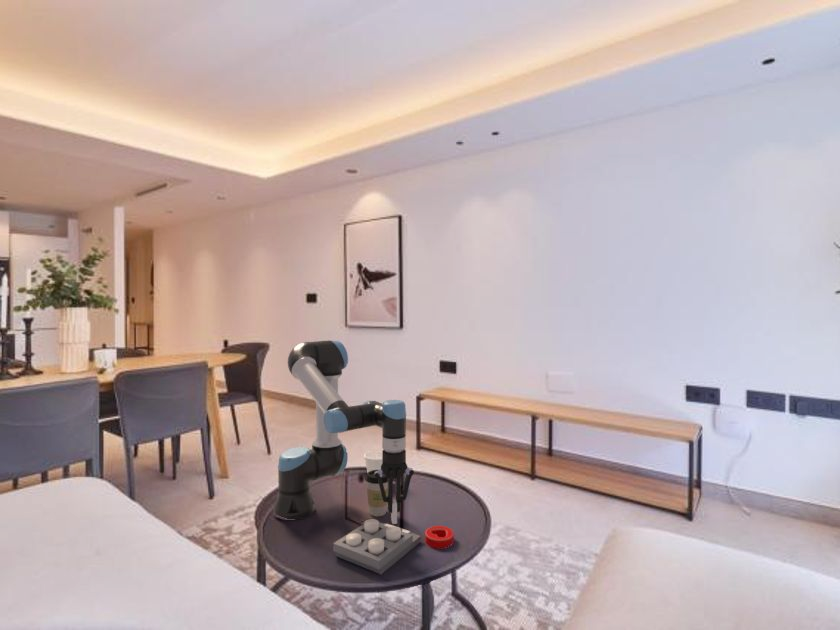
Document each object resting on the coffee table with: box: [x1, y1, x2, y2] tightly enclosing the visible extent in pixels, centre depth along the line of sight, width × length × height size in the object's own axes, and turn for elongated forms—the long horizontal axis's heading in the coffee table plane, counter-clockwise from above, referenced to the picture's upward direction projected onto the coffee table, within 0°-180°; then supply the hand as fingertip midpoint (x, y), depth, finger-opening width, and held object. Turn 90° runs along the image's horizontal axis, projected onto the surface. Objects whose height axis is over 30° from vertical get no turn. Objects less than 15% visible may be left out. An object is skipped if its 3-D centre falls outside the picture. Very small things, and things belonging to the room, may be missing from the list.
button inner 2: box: [363, 518, 380, 535], centre depth 153 cm, size 5×5×3 cm
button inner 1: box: [345, 533, 361, 547], centre depth 145 cm, size 5×5×3 cm
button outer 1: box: [368, 538, 384, 556], centre depth 140 cm, size 5×5×3 cm
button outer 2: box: [386, 525, 401, 543], centre depth 148 cm, size 5×5×3 cm
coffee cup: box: [364, 470, 388, 517], centre depth 175 cm, size 10×10×15 cm
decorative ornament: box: [424, 525, 455, 550], centre depth 154 cm, size 10×10×3 cm
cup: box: [363, 450, 383, 473], centre depth 204 cm, size 12×12×12 cm
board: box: [332, 521, 422, 575], centre depth 149 cm, size 18×23×4 cm
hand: (394, 521), depth 148 cm, fingers closed
